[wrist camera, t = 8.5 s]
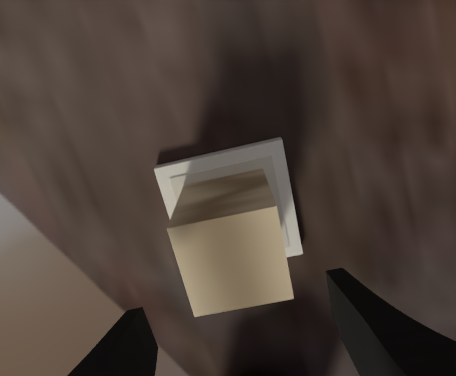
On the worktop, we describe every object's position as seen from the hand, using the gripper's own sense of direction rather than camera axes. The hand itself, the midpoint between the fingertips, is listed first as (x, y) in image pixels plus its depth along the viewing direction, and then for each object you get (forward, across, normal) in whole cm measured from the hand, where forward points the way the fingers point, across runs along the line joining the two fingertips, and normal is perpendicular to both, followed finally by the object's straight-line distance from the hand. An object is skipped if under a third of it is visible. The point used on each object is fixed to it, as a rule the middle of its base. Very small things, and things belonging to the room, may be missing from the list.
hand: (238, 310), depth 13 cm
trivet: (+10, 0, 0) cm, 10 cm away
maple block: (+9, 0, 0) cm, 9 cm away
